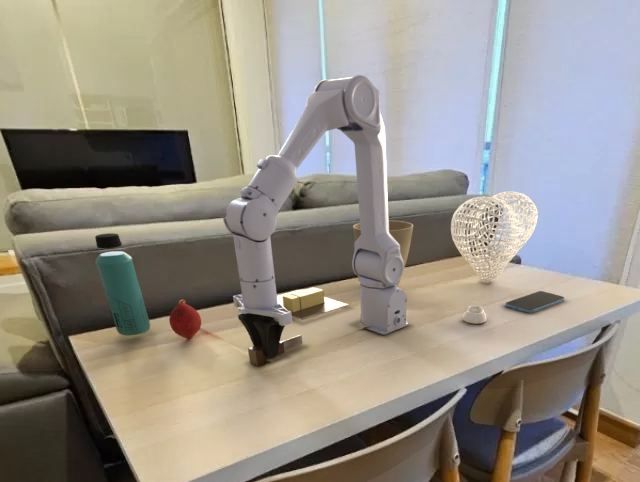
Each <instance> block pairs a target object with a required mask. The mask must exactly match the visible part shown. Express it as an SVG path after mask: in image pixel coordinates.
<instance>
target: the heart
mask: <svg viewBox="0 0 640 482" xmlns="http://www.w3.org/2000/svg"><path fill="white" fill-rule="evenodd" d="M511 201H512V202H511ZM525 204H526V205H525ZM497 206H498V207H497ZM502 209H503V210H502ZM495 211H496V212H495ZM486 214H487V215H486ZM496 218H497V219H498V221H495V219H496ZM538 218H539V213H538V208H537V206H536V205H535V203H534V201H533V200H532V199H531V198H530V197H529V196H528V195H526V194H524V193H522V192H519V191H512V190H511V191H510V190H509V191H508V190H507V191H502V192H499V193H496V194H494V195H492V196H486V195H485V196H484V195H483V196H475V197H472V198H470V199H467V200H465V201H464V202H463V203H461V204H460V205H459V206H458V207H457V209H455V211H454V213H453V215H452V217H451V220H450V221H451V222H450V233H451V239H452V241H453V244H454V245H455V248H456V249H457V250H458V252H459V254H460V255H461V257H462V258H463V259H464V260H465V261H466V262H467V264H468V265H469V266H470V268H471V269H472V270H473V272H474V273H475V275H476V277H478V279H479V280H480V281H481V282H483V283H485V284H490V283H491V282H493V281H495V280H496V279H497V278H498V277H499V275H501V273H502V272H503V271H504V269H505V268H506V267H507V266H508V264H509V263H510V262H511V261H512V259H514V257H515V256H516V255H517V254H518V252H519V251H520V250H521V249H522V248H523V247H524V246H525V245H526V243H527V242H528V241H529V239H530V238H531V237H532V235H533V233H534V232H535V229H536V226H537V223H538ZM490 219H491V220H490ZM483 223H484V224H483ZM494 226H496V227H494ZM499 227H501V228H499ZM493 230H494V231H493ZM499 231H500V232H499ZM484 235H485V236H484ZM491 236H493V237H491ZM492 242H493V243H492ZM485 243H486V244H487V245H486V244H485ZM490 248H491V249H490ZM471 250H472V251H471ZM488 258H489V259H488Z"/></svg>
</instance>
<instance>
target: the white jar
mask: <svg viewBox="0 0 640 482" xmlns="http://www.w3.org/2000/svg"><path fill="white" fill-rule="evenodd" d="M487 318H488V317H487V315H486V312H485V311H484V308H483V306H480V305H469V306H468V309H466V311H465V312H464V314H463V316H462V320H463V321H464V322H466V323H468V324H474V325H477V324H478V325H480V324H483V323H485V322H487Z"/></svg>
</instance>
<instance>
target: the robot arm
mask: <svg viewBox="0 0 640 482" xmlns="http://www.w3.org/2000/svg"><path fill="white" fill-rule="evenodd" d="M380 95H381V94H380V89H379V88H378V87H377V86H376V85H375V84H374V83H373V82H372V81H371V80H370V79H369V77H367V76H366V75H362V74H357V75H354V76H351V77H344V78H342V77H341V78H337V79H329V78H328V79H327V78H326V79H322V80H320V81H319V82H318V83H317V84H316V85H315V87H314V89H313V91H312V92H311V93H310V94H309V95H308V96H307V99H306V104H305V107H304V109H303V111H302V112H301V114H300V116H299V118H298V120H297V121H296V123H295V125H294V127H292V130H291V132H290V133H289V135H288V137H287V139H286V140H285V142H284V144H283V146H282V147H281V149H280V150H279V152H278V154H277V155H267V156H266V157H265V158H264V159H263V158H261V159H259V161H258V162H257V164H256V167H257V168H258V169H257V171H256V172H255V173H254V175H253V176H252V178H251V180H250V181H249V183H248V184H247V186H246V187H245V186H244V187H242V188H241V190H240V194H241V197H237V198H236V199H233V200H232V201H231V202H230V203H229V204H228V205H227V207H226V210H225V213H226V215H225V217H223V219H222V220H223V223H224V226H225V227H226V229H227V231H228V232H229V233H230V234H231V235H232V238H233V243H234V251H235V257H236V264H237V271H238V278H239V283H240V285H239V286H240V291H241V293H240V294H236V295H232V299H233V306H234V307H235V308H237V311H238V312H239V314H238V315H237V318H238V320H239V321H240V323H241V324H242V325H243V326H244V329H245V330H246V332H247V334H248V336H249V338H250V340H251V343H252V347H253V346H256V345H259V344H262V343H263V347H264V352H265V354H266V357H268V359H270V357H271V358H273V356H274V357H276V356H279V355H278V350H279V344H280V341H281V337H282V334H283V331H284V328H285V327H286V326H287V325H290V324H293V316H292V315H291V312H290V311H288V310H286V309H285V308H284V307H283V306H282V305H281V304H280V303H279V302H278V301H277V296H278V294H277V285H276V276H275V268H274V258H273V249H272V240H271V236H272V234H274V233H275V232H276V230H277V225H278V223H277V222H278V221H277V218H278V217H277V216H278V214H279V211H280V210H281V208H282V207H283V205H284V204H285V202H286V200H287V199H288V197H289V196H290V195H291V193H292V192H293V190H294V189H295V187H296V186H297V184H298V173H297V170H298V169H299V167H300V166H301V164H303V162H304V161H305V160H306V158H307V157H308V155H309V154H310V153H311V151H312V150H313V149H314V147H316V145H317V144H318V143H319V141H320V139H321V138H322V137H323V136H324V134H325V133H326V132H328V131H332V130H335V129H336V130H339V131H341V132H342V133H343V134H344V135H345V136H346V137H347V138H348V139H349V140H350V141H351V142H352V143H353V144H354V153H355V154H354V156H355V171H356V184H357V186H356V187H357V199H358V213H359V223H360V227H361V235H360V237H359V238H358V239H357V240H356V241H355V240H354V242H353V248H354V249H353V250H354V251H353V256H352V260H351V267H352V271H353V273H354V275H356V276H357V281H358V282H359V292H360V293H359V295H360V296H359V298H360V299H359V301H360V322H361V323H362V324H363V325H366V326H364V327H363V329H365V330H367V331H371V332H373V333H376V334H379V335H382V336H384V335H387V334H390V333H392V332H395V331H398V330H400V329H402V328H405V327H408V326H409V323H408V322H407V306H408V305H407V303H408V302H407V301H408V300H407V299H408V297H407V293H406V292H405V290H403V289H402V288H400V287H399V286H398V287H397V286H396V285H397V284H398V281H399V280H400V278H401V279H402V277H403V275H404V271H405V268H404V262H403V259H402V256H401V253H400V245H399V244H398V242H397V241H396V240H395V239H394V238H393V237H392V236H391V234H390V233H389V218H390V217H389V197H388V196H389V194H388V171H387V147H386V146H387V145H386V144H387V143H386V141H387V140H386V127H385V123H384V120H383V116H382V113H381V97H380ZM400 281H401V280H400Z"/></svg>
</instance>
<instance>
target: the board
mask: <svg viewBox="0 0 640 482" xmlns="http://www.w3.org/2000/svg"><path fill="white" fill-rule="evenodd" d="M302 290H303V289H296V290H292V291H290V292H285V293H282V294H277V301H278V302H279V303H280V304H281V305H282V306H283V297H282V296H284V295H287V294H291V293H295V292H298V291H302ZM324 301H325V303H321V304H318V305H315V306H312V307H308V308H305V309H302V310H301V309H300V310H299V311H295V312H292V311H290V312H291V315H292V318H296V319H299V320H301V321H303V320H306V319H309V318H312V317H315V316H318V315H322V314H325V313H327V312H331V311H333V310H338V309H340V308H343V307H346V306H349V305H350V304H348V303H345V302H342V301H339V300H336V299H332V298H330V297H326V296H324ZM283 307H284V306H283ZM288 311H289V310H288Z"/></svg>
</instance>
